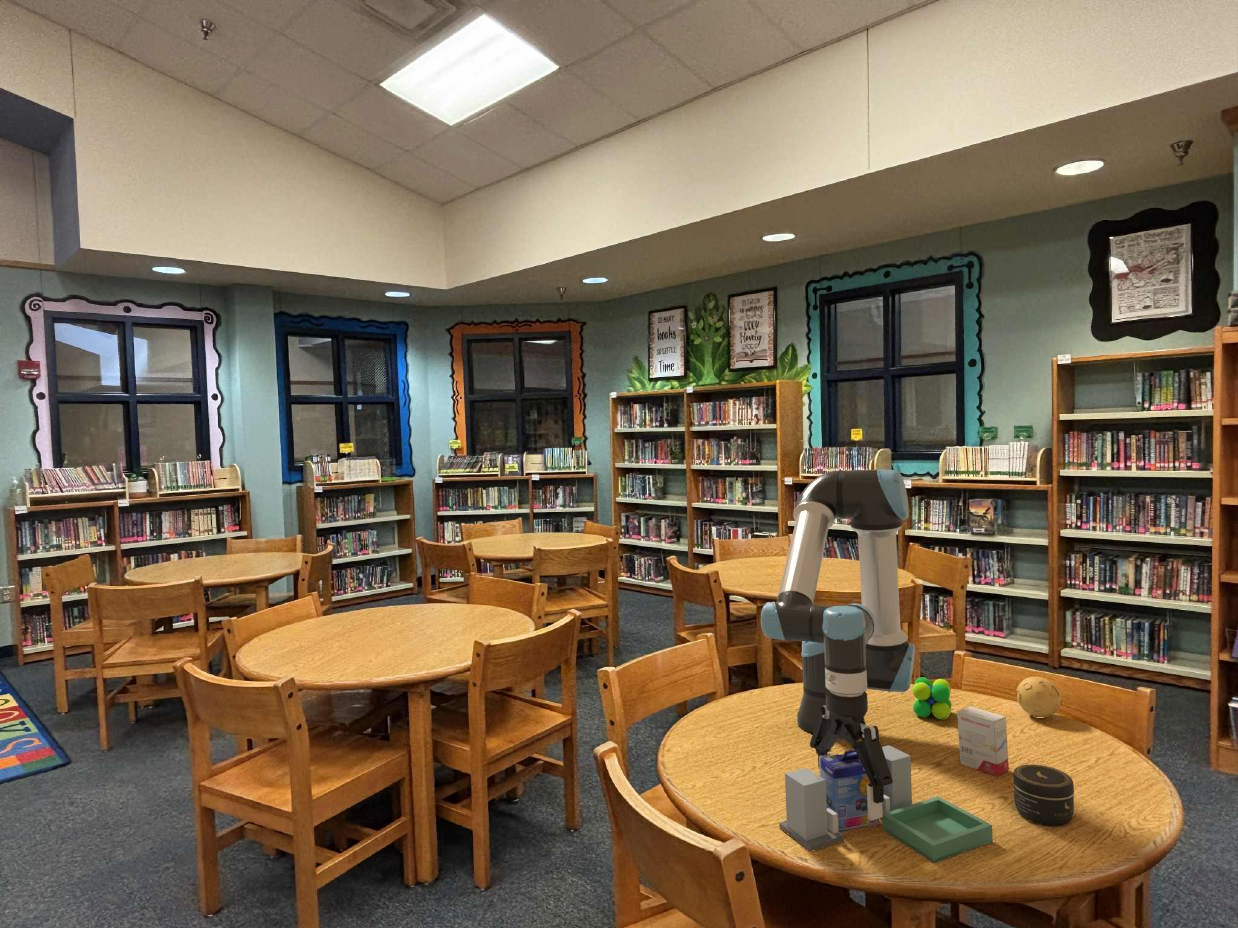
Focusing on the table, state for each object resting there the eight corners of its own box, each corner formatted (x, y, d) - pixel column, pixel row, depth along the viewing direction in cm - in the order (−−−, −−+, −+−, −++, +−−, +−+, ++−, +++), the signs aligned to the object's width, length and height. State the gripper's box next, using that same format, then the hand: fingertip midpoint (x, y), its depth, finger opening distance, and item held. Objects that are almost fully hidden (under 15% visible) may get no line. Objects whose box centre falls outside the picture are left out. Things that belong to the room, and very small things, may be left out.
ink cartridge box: (835, 833, 134) (833, 756, 134) (819, 819, 140) (817, 744, 139) (882, 824, 137) (879, 748, 137) (865, 810, 142) (862, 736, 142)
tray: (882, 829, 135) (881, 813, 135) (938, 811, 141) (937, 796, 141) (934, 862, 124) (933, 845, 124) (992, 841, 130) (992, 824, 130)
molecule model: (912, 718, 187) (950, 723, 183) (911, 684, 186) (949, 688, 182) (915, 706, 194) (952, 710, 190) (914, 674, 194) (951, 677, 190)
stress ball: (1026, 711, 190) (1000, 690, 188) (1052, 683, 189) (1026, 661, 187) (1051, 732, 180) (1023, 710, 179) (1078, 703, 179) (1050, 680, 178)
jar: (1050, 834, 131) (1049, 792, 131) (1001, 809, 140) (1000, 770, 140) (1087, 820, 135) (1086, 779, 135) (1037, 797, 144) (1036, 759, 144)
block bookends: (779, 827, 137) (777, 770, 137) (886, 795, 148) (884, 741, 147) (810, 851, 129) (807, 790, 129) (921, 815, 140) (919, 758, 139)
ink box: (1010, 770, 156) (1008, 716, 156) (997, 777, 153) (995, 722, 153) (971, 757, 163) (969, 704, 163) (958, 763, 160) (956, 710, 160)
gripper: (789, 675, 147) (793, 780, 148) (878, 715, 125) (882, 838, 125) (819, 669, 150) (823, 772, 151) (911, 706, 128) (915, 827, 128)
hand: (850, 802), depth 138 cm, fingers open, 12 cm apart
